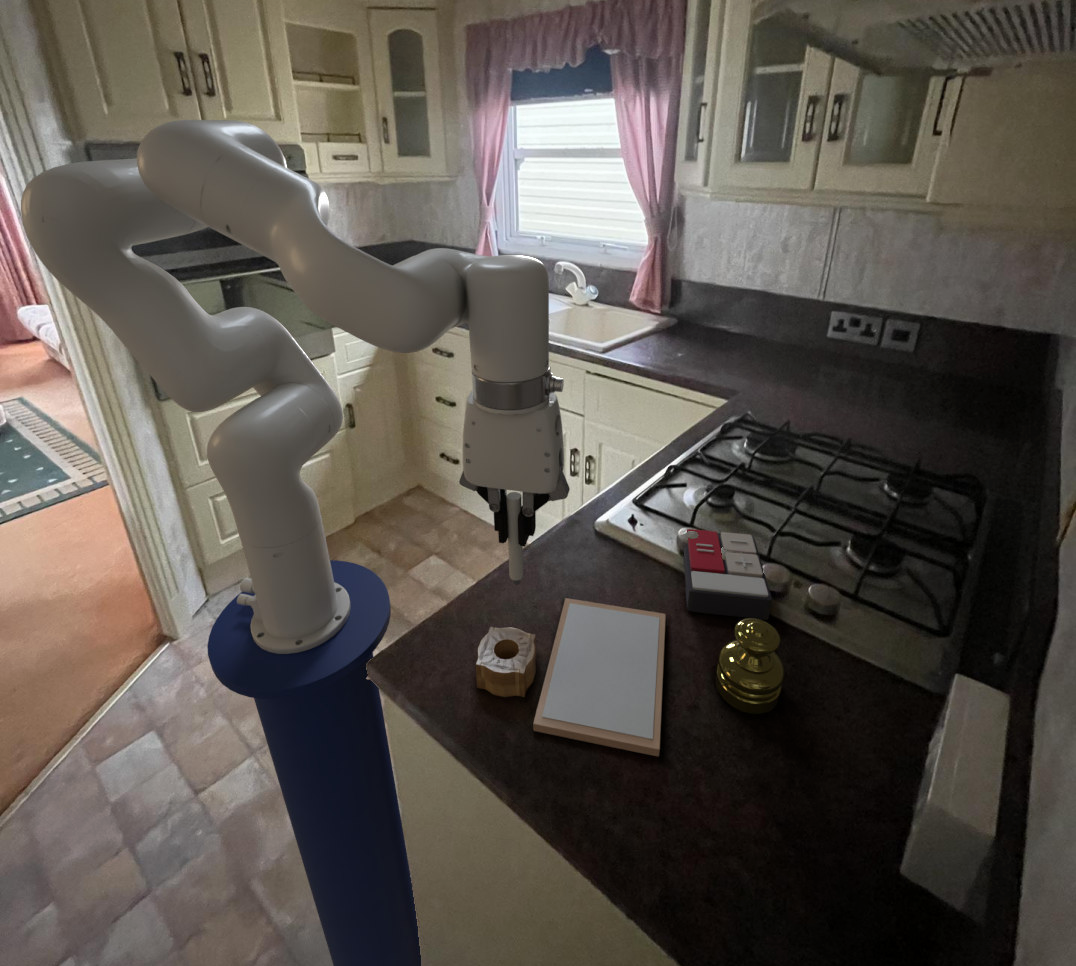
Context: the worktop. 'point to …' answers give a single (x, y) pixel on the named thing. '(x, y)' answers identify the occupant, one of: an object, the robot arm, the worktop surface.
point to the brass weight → (751, 668)
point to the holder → (506, 662)
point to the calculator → (725, 576)
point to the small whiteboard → (605, 677)
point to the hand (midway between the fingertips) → (515, 536)
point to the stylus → (514, 537)
